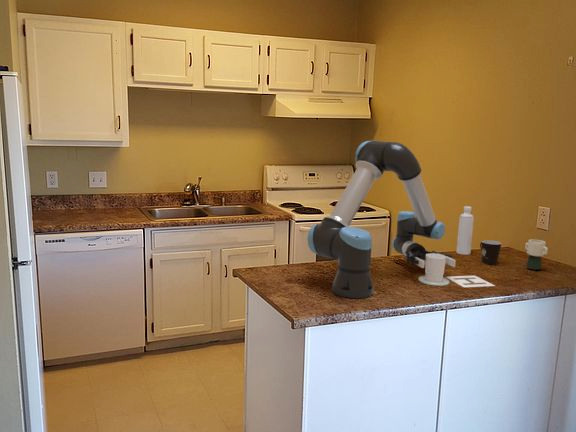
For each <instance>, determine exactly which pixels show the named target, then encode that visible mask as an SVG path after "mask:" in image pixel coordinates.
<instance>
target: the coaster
mask: <svg viewBox="0 0 576 432" xmlns="http://www.w3.org/2000/svg"><path fill="white" fill-rule="evenodd" d="M418 282H420V283H421V284H424V285H427V286H433V287H434V286H435V287H444V286H445V287H446V286H448V285H450V280H449V279H448V278H446V277H443V281H442V282H431V281H428V280H426V279H425V275H421V276H419V277H418Z"/></svg>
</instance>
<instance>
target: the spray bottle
mask: <svg viewBox="0 0 576 432" xmlns="http://www.w3.org/2000/svg"><path fill="white" fill-rule="evenodd" d="M471 212H472V206H463V213H461V214H460V215H459V219H458V222H459V223H458V231H457V239H456V241H457V243H456V254H459V255H465V256H467V255H471V252H472V251H471V250H472V240H473V233H474V230H473V229H474V219H475V217H474V215H473V214H471Z"/></svg>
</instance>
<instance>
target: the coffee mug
mask: <svg viewBox="0 0 576 432" xmlns="http://www.w3.org/2000/svg"><path fill="white" fill-rule="evenodd" d="M479 247H480V250H481V263H482V264H483V263H484V265H487V264H488V266H496V265H497V264H498V260H499V256H500V251H501V248H502V242H500V241H497V240H490V239H489V240H488V239H486V240H482V241H481V242H480V244H479Z"/></svg>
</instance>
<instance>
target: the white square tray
mask: <svg viewBox="0 0 576 432" xmlns="http://www.w3.org/2000/svg"><path fill="white" fill-rule="evenodd" d="M445 279H448V280H449V281H451V282H453V283H454V284H457V285H458V286H461V287H463V288H481V287H483V288H486V287H487V288H488V287H496V285H495V284H493V283H492V282H491V283H490V282H489V281H487V280H485V279H482V278H480V277H479V276H476V275H459V276H456V275H455V276H452V275H451V276H445Z"/></svg>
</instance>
